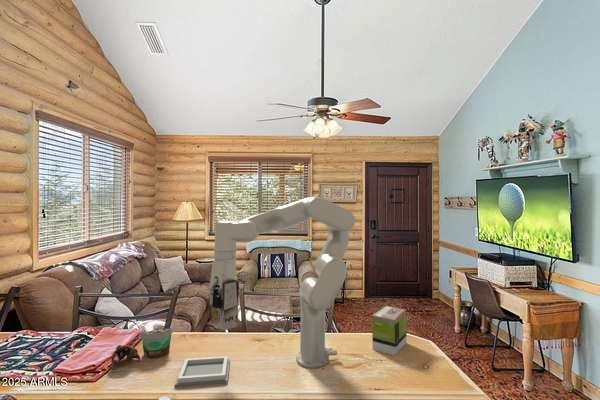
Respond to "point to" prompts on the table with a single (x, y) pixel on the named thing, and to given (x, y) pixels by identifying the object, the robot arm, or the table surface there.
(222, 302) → the coffee box
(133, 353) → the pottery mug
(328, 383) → the table surface
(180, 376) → the board
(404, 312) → the tea box
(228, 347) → the table surface
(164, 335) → the food container
